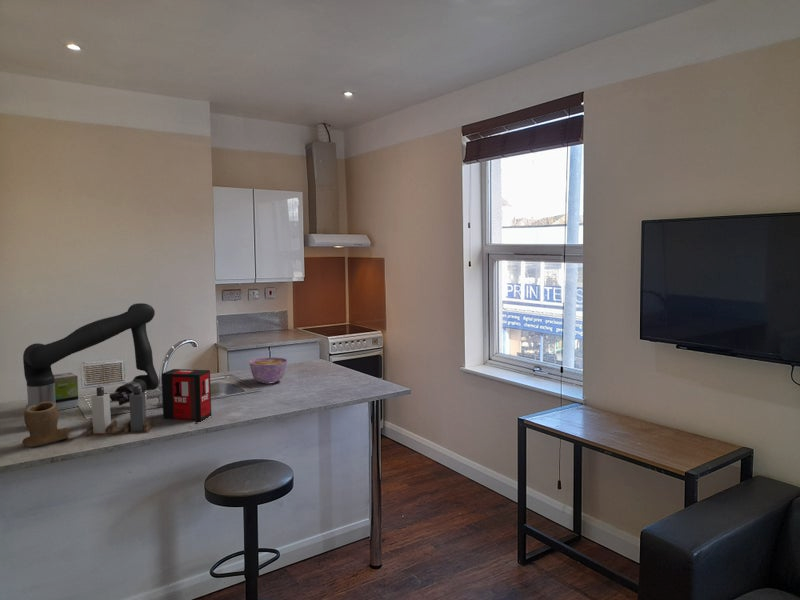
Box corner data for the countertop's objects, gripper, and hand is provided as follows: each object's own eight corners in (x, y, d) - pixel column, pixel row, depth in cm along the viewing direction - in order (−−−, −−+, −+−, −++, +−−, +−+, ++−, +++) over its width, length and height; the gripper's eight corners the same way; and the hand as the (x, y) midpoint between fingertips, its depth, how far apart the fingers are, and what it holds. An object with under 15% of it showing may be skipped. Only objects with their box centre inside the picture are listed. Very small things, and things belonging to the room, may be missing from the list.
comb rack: (84, 439, 201) (84, 429, 200) (94, 430, 210) (93, 420, 210) (148, 435, 205) (147, 425, 205) (154, 427, 215) (154, 417, 214)
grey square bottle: (130, 431, 206) (128, 388, 205) (134, 427, 211) (132, 385, 209) (143, 431, 207) (141, 387, 206) (146, 427, 212) (144, 384, 210)
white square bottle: (93, 433, 204) (90, 389, 202) (99, 429, 208) (97, 386, 207) (105, 433, 204) (102, 389, 203) (111, 429, 209) (109, 386, 207)
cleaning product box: (211, 416, 229) (209, 370, 227) (200, 422, 220) (199, 375, 218) (175, 414, 231) (173, 369, 229) (163, 421, 222) (161, 373, 221)
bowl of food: (241, 383, 286) (241, 361, 285) (270, 376, 302) (270, 355, 301) (267, 388, 275) (266, 366, 274) (295, 381, 291) (295, 360, 290)
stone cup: (25, 452, 188) (23, 410, 186) (20, 443, 196) (17, 403, 195) (75, 442, 198) (73, 402, 197) (68, 434, 207) (65, 395, 205)
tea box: (40, 414, 231) (38, 380, 230) (34, 409, 238) (32, 377, 237) (79, 407, 242) (77, 374, 241) (72, 402, 249) (70, 371, 248)
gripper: (111, 383, 227) (89, 393, 210) (145, 383, 227) (126, 393, 211) (112, 400, 227) (90, 412, 211) (146, 400, 228) (127, 412, 211)
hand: (108, 402), depth 211 cm, fingers open, 8 cm apart
